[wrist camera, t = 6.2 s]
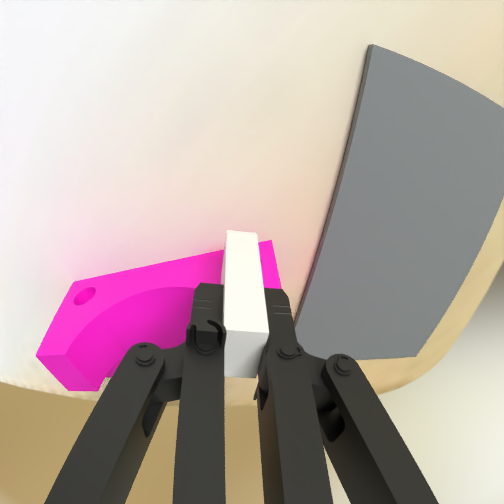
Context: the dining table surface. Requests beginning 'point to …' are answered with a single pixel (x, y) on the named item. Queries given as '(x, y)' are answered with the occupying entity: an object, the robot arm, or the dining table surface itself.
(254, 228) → the dining table surface
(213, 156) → the dining table surface
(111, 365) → the magenta bearing cap
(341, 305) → the pad
